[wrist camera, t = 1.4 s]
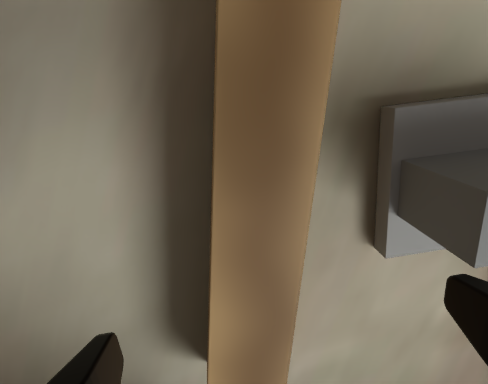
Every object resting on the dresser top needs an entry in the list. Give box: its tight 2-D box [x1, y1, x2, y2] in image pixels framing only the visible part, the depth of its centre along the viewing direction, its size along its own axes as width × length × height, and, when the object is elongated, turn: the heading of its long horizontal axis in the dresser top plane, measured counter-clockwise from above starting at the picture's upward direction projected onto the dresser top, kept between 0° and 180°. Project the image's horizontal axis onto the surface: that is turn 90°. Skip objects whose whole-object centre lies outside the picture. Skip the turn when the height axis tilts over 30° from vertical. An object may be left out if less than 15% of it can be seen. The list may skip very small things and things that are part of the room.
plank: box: [207, 0, 341, 384], centre depth 14 cm, size 4×22×4 cm, turn 176°
